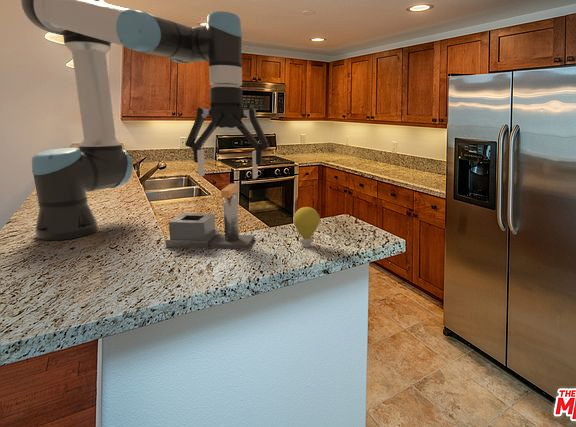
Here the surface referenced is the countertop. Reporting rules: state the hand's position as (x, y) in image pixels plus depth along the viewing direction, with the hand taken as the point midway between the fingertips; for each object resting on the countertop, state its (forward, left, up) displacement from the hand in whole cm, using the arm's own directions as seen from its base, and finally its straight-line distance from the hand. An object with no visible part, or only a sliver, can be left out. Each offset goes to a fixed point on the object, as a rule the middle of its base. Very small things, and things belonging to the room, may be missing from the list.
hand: (228, 177), depth 91 cm
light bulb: (+9, +17, -18) cm, 26 cm away
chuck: (-5, -9, -17) cm, 20 cm away
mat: (0, 0, -17) cm, 17 cm away
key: (0, 0, -16) cm, 16 cm away
